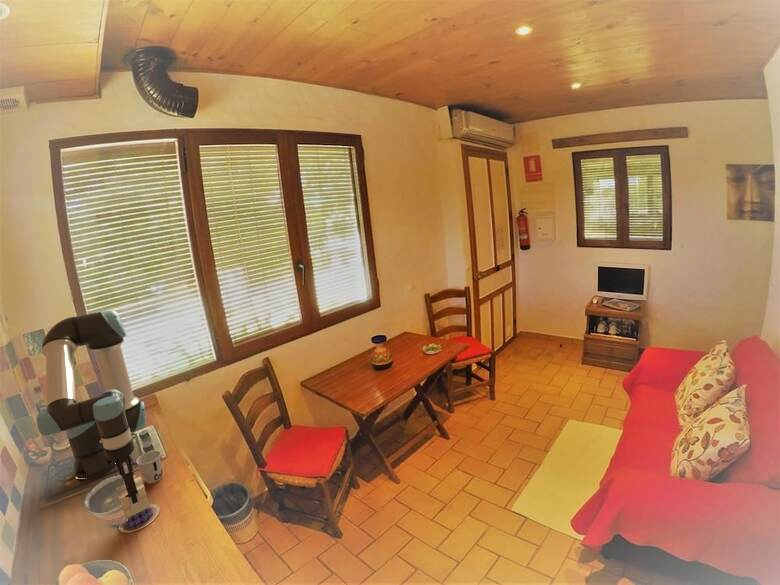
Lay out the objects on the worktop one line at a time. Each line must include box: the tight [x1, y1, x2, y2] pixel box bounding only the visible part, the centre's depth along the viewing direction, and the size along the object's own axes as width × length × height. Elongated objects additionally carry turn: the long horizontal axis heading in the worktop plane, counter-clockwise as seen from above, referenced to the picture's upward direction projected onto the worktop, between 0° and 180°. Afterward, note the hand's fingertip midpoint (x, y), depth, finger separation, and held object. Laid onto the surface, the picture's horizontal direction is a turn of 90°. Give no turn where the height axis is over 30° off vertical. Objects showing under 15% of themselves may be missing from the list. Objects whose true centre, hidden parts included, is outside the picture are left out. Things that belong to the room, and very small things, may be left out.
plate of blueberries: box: [118, 503, 161, 534], centre depth 128 cm, size 12×12×5 cm
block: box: [115, 476, 151, 520], centre depth 126 cm, size 7×7×8 cm
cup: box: [136, 449, 164, 484], centre depth 146 cm, size 8×8×10 cm
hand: (134, 501), depth 126 cm, fingers open, 8 cm apart
